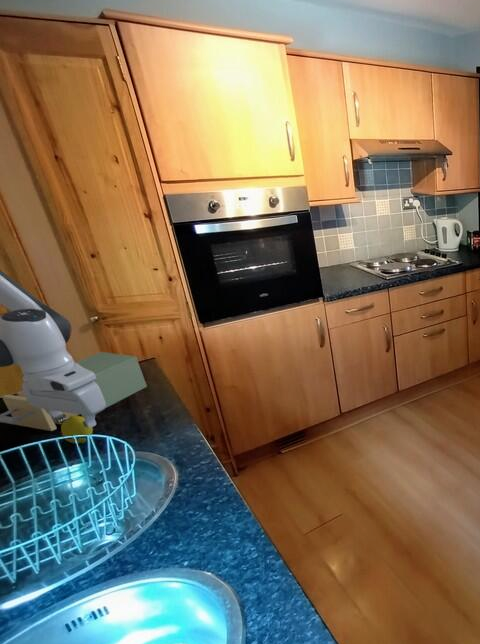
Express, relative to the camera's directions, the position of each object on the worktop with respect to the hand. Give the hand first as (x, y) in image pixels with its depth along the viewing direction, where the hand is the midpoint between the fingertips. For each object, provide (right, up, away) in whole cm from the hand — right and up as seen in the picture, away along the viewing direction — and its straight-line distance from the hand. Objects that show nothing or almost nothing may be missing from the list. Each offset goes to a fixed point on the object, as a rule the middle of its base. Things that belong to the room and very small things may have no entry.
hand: (76, 424), depth 113 cm
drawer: (-16, -1, +11) cm, 20 cm away
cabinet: (-14, +4, +23) cm, 27 cm away
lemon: (0, -5, +2) cm, 6 cm away
